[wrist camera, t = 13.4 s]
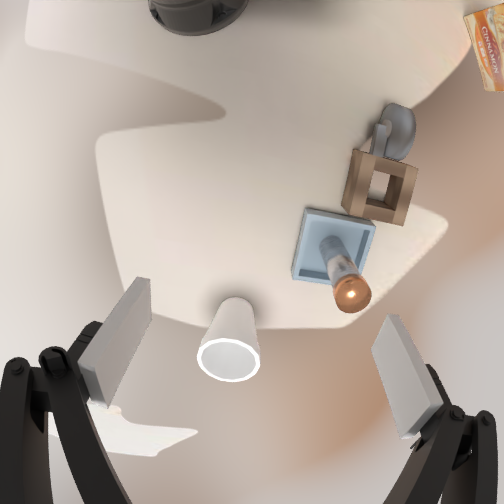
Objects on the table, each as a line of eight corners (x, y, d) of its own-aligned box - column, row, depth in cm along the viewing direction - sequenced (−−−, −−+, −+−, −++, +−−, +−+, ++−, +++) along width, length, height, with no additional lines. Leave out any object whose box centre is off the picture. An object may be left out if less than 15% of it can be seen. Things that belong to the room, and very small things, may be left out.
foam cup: (265, 293, 52) (264, 343, 40) (259, 333, 56) (256, 384, 44) (211, 286, 52) (196, 334, 40) (209, 327, 56) (196, 376, 44)
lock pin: (321, 232, 46) (342, 279, 32) (347, 237, 46) (376, 284, 33) (315, 257, 48) (331, 311, 34) (340, 261, 48) (364, 314, 34)
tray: (305, 207, 45) (307, 213, 43) (370, 220, 45) (376, 226, 43) (291, 270, 50) (292, 279, 47) (352, 279, 50) (356, 288, 47)
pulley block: (362, 98, 38) (381, 94, 30) (414, 115, 38) (439, 115, 30) (341, 205, 45) (354, 221, 37) (391, 215, 45) (411, 233, 38)
